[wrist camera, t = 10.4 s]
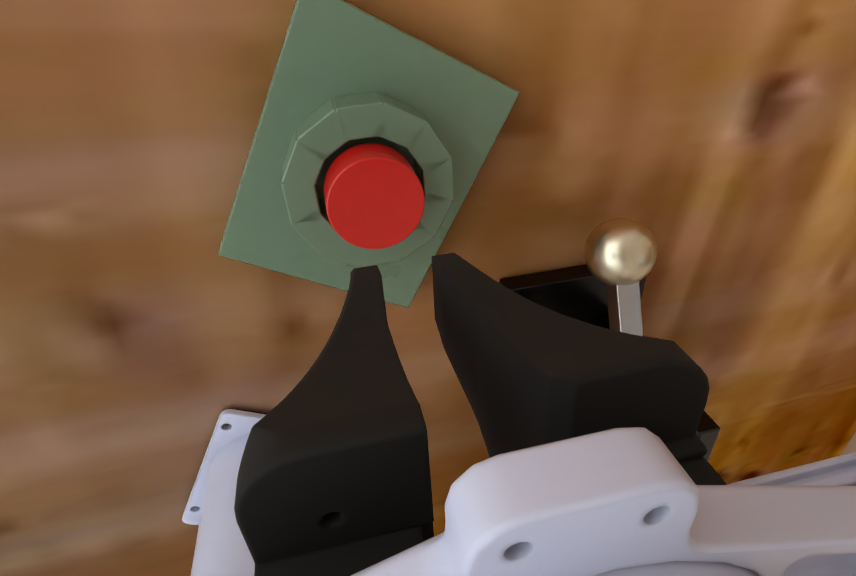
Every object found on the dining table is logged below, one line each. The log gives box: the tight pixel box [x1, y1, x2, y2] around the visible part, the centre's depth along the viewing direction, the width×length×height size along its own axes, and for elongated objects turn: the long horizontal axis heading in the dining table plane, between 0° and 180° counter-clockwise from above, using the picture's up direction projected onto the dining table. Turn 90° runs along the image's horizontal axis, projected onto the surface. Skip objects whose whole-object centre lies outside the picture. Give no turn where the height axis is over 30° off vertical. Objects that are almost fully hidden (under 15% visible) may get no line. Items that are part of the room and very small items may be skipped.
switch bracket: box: [500, 265, 720, 461], centre depth 26 cm, size 10×8×10 cm
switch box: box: [218, 0, 519, 307], centre depth 21 cm, size 11×9×3 cm
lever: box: [584, 218, 657, 336], centre depth 23 cm, size 12×3×3 cm, turn 1°
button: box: [324, 143, 425, 249], centre depth 19 cm, size 4×4×2 cm
